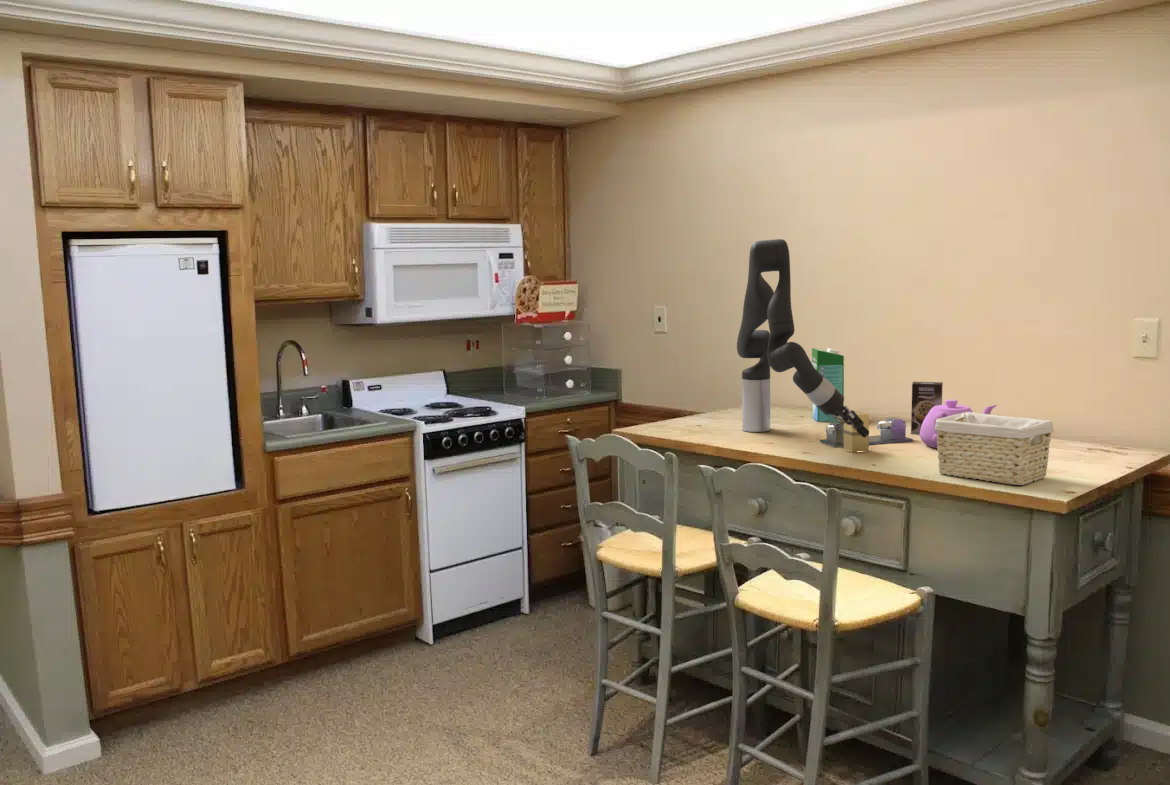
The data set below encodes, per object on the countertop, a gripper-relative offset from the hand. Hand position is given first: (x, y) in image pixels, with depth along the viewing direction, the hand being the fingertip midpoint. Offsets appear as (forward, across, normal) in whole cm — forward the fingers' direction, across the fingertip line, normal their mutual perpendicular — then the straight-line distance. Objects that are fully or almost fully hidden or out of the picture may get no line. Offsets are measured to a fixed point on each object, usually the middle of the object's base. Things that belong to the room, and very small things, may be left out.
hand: (861, 433), depth 278 cm
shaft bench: (+9, +11, -2) cm, 14 cm away
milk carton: (+15, +53, -7) cm, 56 cm away
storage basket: (+13, -42, -6) cm, 44 cm away
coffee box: (+26, +18, -19) cm, 37 cm away
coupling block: (+2, 0, +5) cm, 5 cm away
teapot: (+23, -6, -16) cm, 29 cm away
